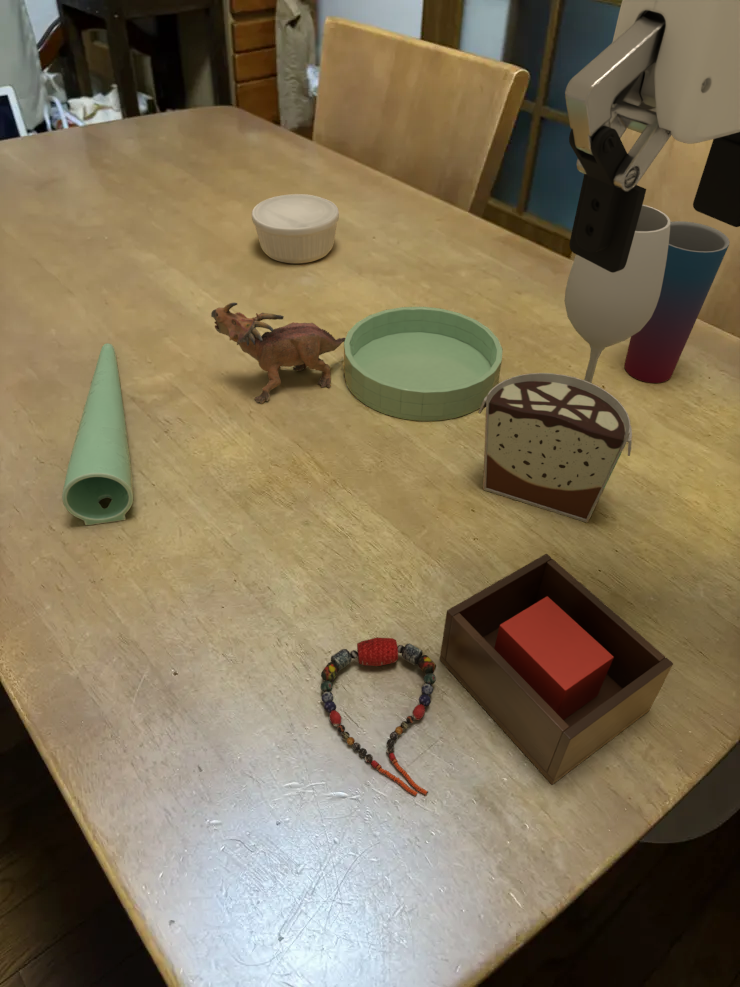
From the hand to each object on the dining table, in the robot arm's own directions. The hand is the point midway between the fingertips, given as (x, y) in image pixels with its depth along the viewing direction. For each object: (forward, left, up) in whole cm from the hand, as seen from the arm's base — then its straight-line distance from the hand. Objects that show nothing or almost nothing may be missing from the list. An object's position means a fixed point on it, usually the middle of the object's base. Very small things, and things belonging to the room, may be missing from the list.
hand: (660, 238), depth 39 cm
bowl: (+14, -27, -28) cm, 42 cm away
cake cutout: (+1, -12, -28) cm, 31 cm away
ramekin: (+34, -53, -28) cm, 69 cm away
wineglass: (-2, -21, -28) cm, 35 cm away
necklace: (+11, +14, -28) cm, 34 cm away
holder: (+1, +9, -28) cm, 30 cm away
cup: (-10, -33, -28) cm, 45 cm away
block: (+1, +9, -28) cm, 29 cm away
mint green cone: (+42, -12, -28) cm, 52 cm away
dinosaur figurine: (+27, -23, -28) cm, 46 cm away
